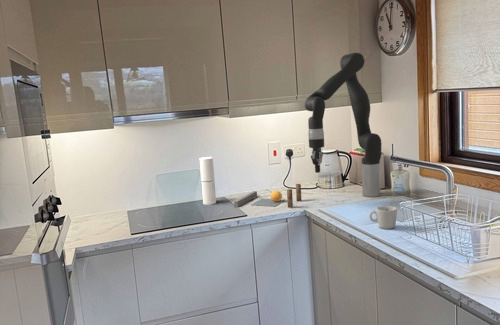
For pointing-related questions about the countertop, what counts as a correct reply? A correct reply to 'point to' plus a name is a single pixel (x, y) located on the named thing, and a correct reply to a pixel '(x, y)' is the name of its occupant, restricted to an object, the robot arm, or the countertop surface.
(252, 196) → the stopper wall
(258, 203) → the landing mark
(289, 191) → the post
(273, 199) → the ball
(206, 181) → the cylindrical container
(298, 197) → the post
